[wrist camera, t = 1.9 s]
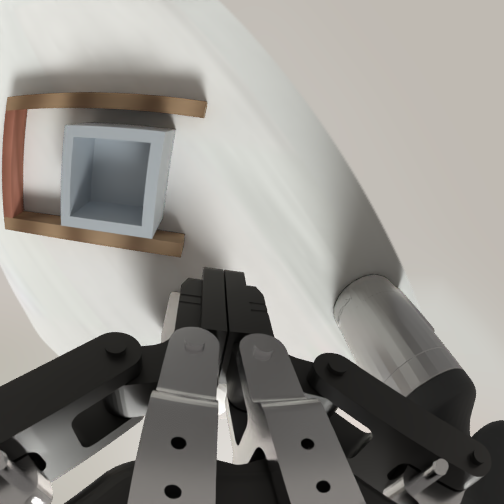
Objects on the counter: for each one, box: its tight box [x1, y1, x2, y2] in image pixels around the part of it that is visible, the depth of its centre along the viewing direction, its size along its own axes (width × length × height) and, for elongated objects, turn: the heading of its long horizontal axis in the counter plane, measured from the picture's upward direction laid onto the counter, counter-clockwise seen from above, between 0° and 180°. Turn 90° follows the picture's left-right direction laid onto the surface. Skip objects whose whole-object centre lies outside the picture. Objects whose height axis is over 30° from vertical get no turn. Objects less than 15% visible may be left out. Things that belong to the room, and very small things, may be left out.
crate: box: [61, 122, 176, 239], centre depth 24 cm, size 9×9×6 cm
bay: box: [2, 92, 207, 257], centre depth 25 cm, size 22×15×2 cm
